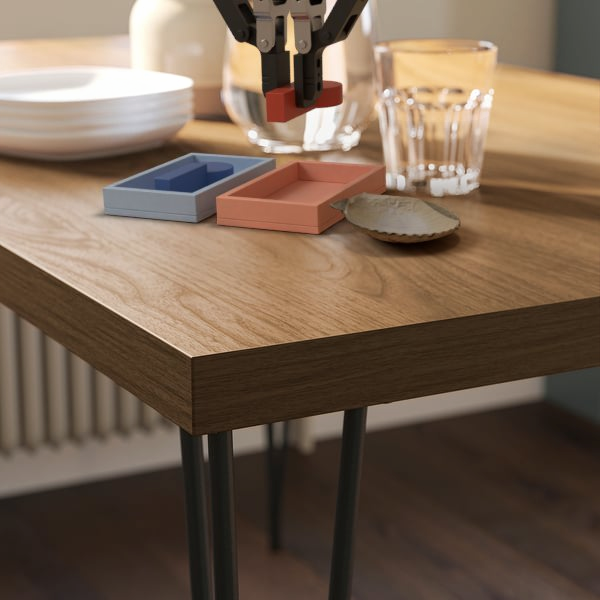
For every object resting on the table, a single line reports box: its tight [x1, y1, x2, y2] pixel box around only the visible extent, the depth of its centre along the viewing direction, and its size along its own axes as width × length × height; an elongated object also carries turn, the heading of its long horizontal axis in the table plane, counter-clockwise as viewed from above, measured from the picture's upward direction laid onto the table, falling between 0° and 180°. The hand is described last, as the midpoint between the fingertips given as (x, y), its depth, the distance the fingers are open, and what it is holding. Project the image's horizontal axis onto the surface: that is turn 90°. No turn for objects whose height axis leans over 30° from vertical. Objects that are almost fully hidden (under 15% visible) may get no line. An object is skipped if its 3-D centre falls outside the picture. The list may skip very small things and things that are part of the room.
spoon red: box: [265, 79, 344, 124], centre depth 84 cm, size 9×4×2 cm, turn 156°
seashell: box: [330, 192, 461, 245], centre depth 77 cm, size 8×3×8 cm
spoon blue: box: [154, 162, 234, 193], centre depth 89 cm, size 9×4×2 cm, turn 156°
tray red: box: [216, 159, 387, 235], centre depth 86 cm, size 13×8×2 cm, turn 156°
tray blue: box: [102, 152, 277, 224], centre depth 90 cm, size 13×8×2 cm, turn 156°
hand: (292, 105), depth 82 cm, fingers closed on spoon red, 1 cm apart
